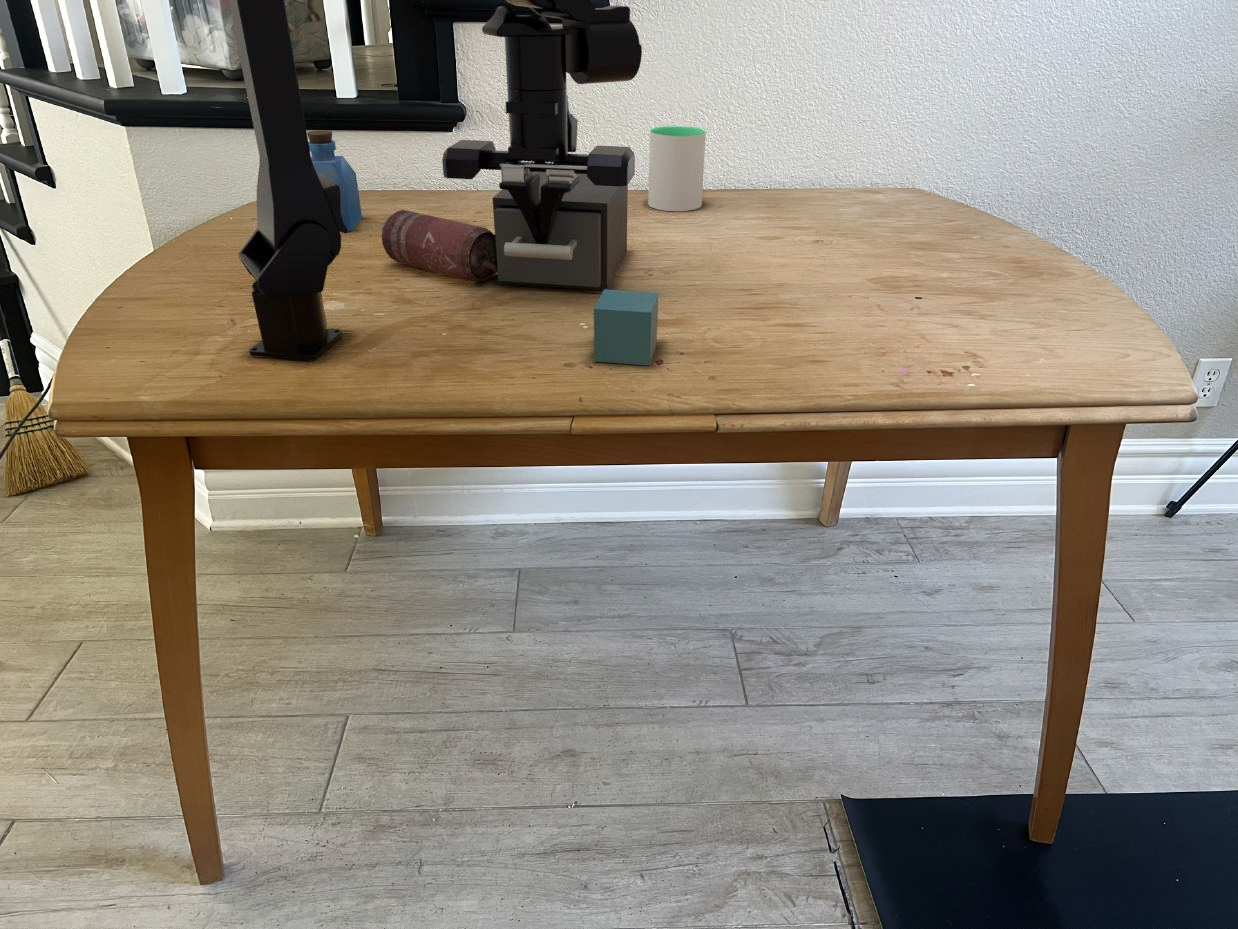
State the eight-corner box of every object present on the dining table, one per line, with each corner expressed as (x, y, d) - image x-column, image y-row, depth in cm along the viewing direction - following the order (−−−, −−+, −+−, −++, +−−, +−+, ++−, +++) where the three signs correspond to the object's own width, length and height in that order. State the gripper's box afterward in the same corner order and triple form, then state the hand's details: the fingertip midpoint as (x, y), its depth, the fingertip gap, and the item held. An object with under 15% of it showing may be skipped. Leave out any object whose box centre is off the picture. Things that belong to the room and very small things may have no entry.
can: (408, 269, 105) (493, 292, 99) (372, 248, 100) (460, 271, 93) (426, 224, 105) (512, 244, 99) (391, 200, 100) (480, 219, 93)
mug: (635, 193, 134) (636, 122, 129) (684, 190, 136) (687, 120, 131) (656, 212, 124) (658, 137, 119) (709, 209, 126) (713, 134, 121)
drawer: (591, 301, 90) (591, 227, 86) (486, 294, 91) (481, 221, 87) (618, 251, 105) (619, 186, 101) (528, 246, 107) (525, 181, 102)
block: (649, 366, 78) (651, 312, 75) (593, 361, 79) (593, 308, 76) (656, 344, 82) (658, 292, 80) (603, 340, 83) (603, 288, 80)
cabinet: (607, 290, 95) (607, 203, 90) (497, 283, 97) (492, 197, 92) (626, 251, 108) (628, 173, 103) (529, 246, 109) (526, 168, 104)
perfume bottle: (362, 218, 120) (349, 128, 114) (352, 231, 115) (337, 136, 108) (317, 218, 120) (302, 128, 114) (305, 231, 114) (288, 136, 108)
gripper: (643, 80, 88) (640, 231, 96) (469, 74, 91) (480, 222, 99) (627, 95, 79) (625, 261, 87) (433, 88, 81) (448, 250, 89)
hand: (542, 247), depth 91 cm, fingers closed
